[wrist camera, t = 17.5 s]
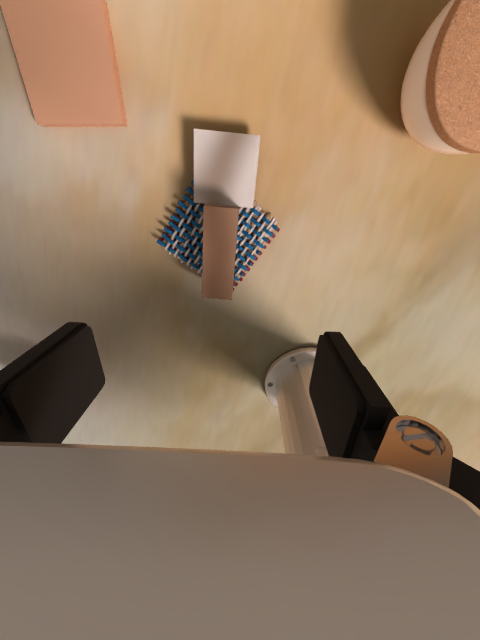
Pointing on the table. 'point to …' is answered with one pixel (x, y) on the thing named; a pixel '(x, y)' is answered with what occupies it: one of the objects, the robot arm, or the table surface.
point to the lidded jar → (446, 82)
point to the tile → (67, 61)
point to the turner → (222, 201)
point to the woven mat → (185, 233)
